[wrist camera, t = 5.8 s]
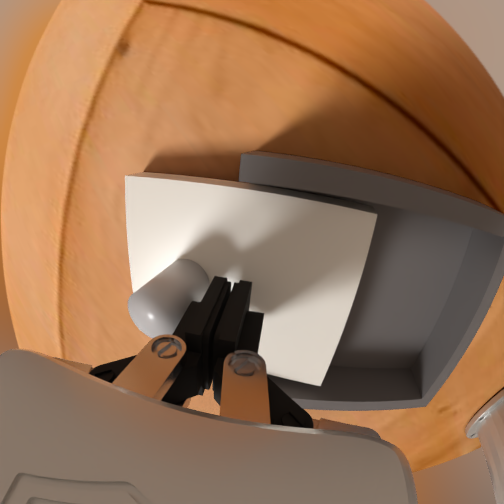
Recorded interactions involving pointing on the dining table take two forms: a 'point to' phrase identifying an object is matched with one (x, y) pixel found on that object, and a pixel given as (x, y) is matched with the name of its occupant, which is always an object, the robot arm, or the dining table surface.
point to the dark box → (397, 283)
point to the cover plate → (248, 260)
